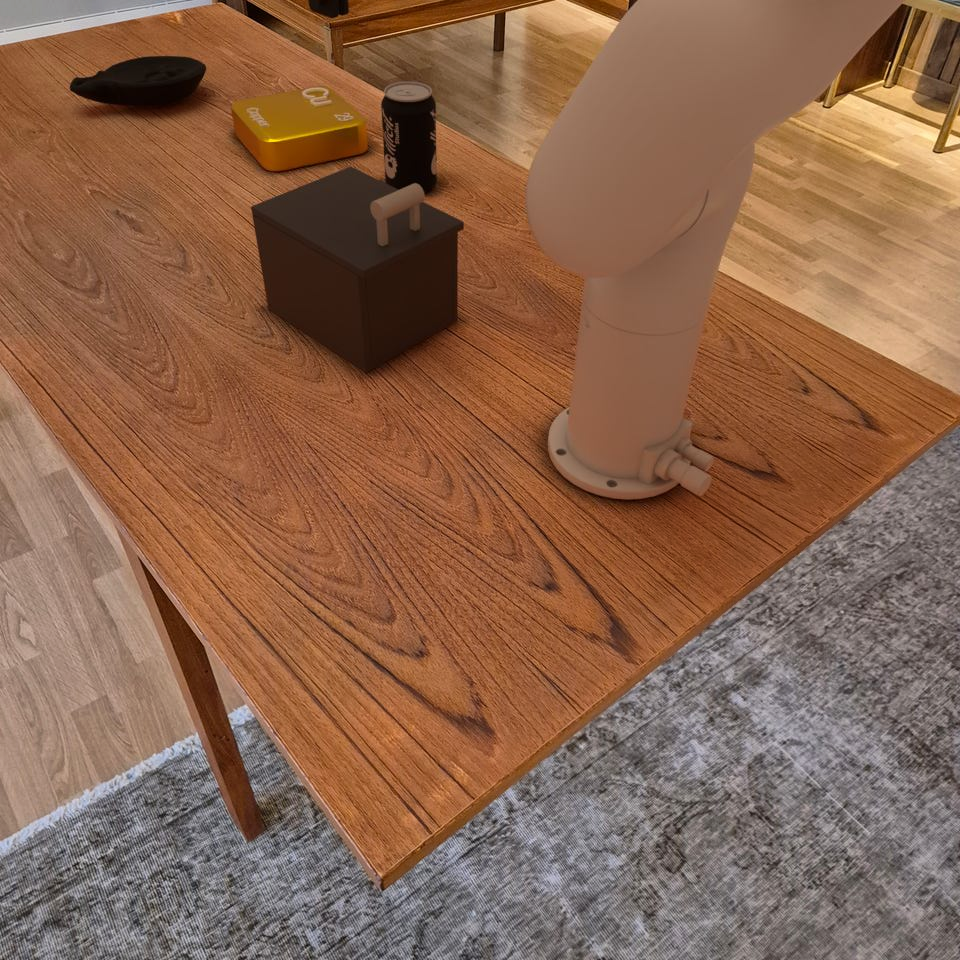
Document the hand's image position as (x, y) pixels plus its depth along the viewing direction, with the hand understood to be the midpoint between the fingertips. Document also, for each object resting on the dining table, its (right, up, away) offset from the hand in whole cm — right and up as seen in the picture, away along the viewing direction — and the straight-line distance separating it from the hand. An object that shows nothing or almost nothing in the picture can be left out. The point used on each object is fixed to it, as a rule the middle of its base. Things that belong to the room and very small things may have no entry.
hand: (329, 12), depth 73 cm
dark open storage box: (0, -21, +20) cm, 29 cm away
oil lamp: (-37, +17, +59) cm, 72 cm away
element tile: (-12, +8, +50) cm, 52 cm away
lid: (+1, -14, +12) cm, 18 cm away
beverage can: (+4, -1, +41) cm, 42 cm away
